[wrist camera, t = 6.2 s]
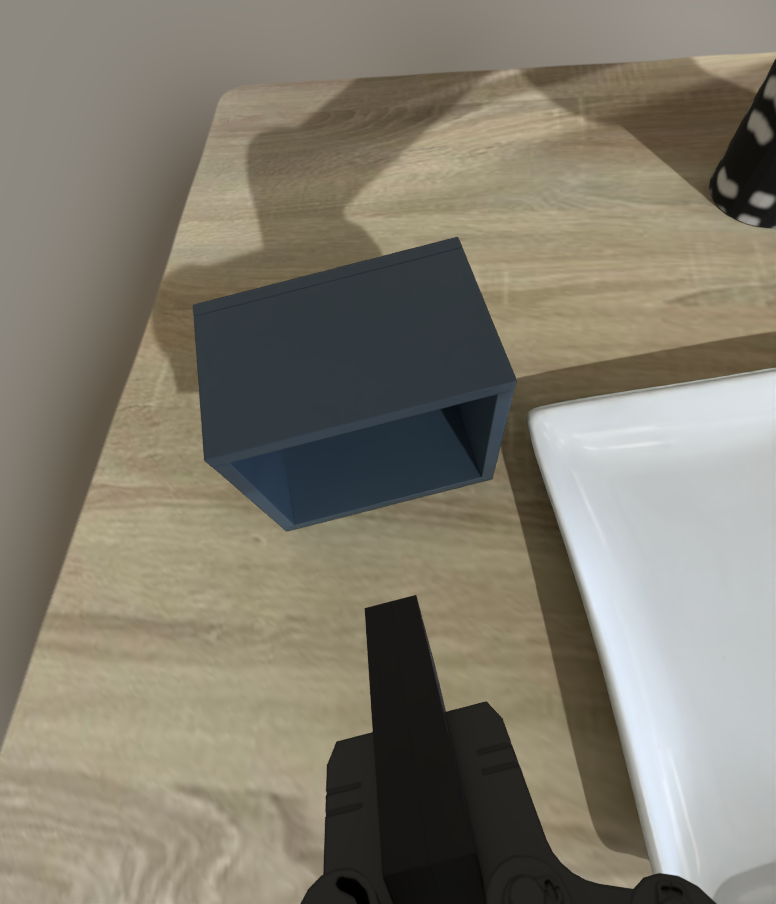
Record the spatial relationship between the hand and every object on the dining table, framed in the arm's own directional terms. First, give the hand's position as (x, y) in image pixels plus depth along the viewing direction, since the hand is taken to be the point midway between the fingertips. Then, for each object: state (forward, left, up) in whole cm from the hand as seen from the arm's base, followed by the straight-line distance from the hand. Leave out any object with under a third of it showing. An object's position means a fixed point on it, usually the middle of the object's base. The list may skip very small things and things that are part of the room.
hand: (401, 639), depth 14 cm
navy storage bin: (-7, -12, -15) cm, 21 cm away
